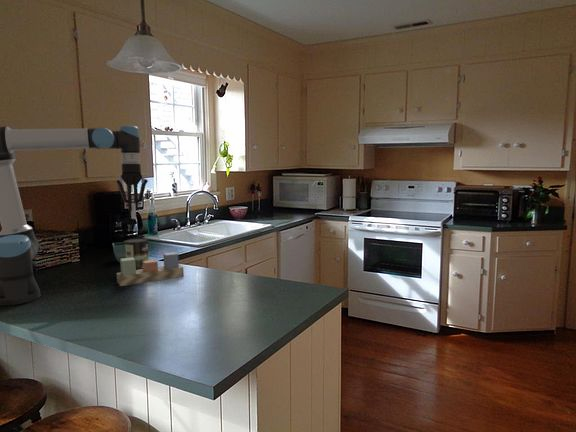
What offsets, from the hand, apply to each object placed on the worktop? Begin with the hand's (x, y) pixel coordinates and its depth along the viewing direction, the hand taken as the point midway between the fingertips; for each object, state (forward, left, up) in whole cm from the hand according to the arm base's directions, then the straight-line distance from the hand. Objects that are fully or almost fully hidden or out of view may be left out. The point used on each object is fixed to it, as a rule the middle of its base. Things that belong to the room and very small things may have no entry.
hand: (133, 218), depth 188 cm
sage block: (-5, -7, -23) cm, 24 cm away
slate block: (+13, -7, -23) cm, 27 cm away
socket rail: (+4, -7, -26) cm, 27 cm away
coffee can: (+3, +13, -26) cm, 30 cm away
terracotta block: (+4, -7, -25) cm, 26 cm away
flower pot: (+1, +37, -26) cm, 46 cm away
